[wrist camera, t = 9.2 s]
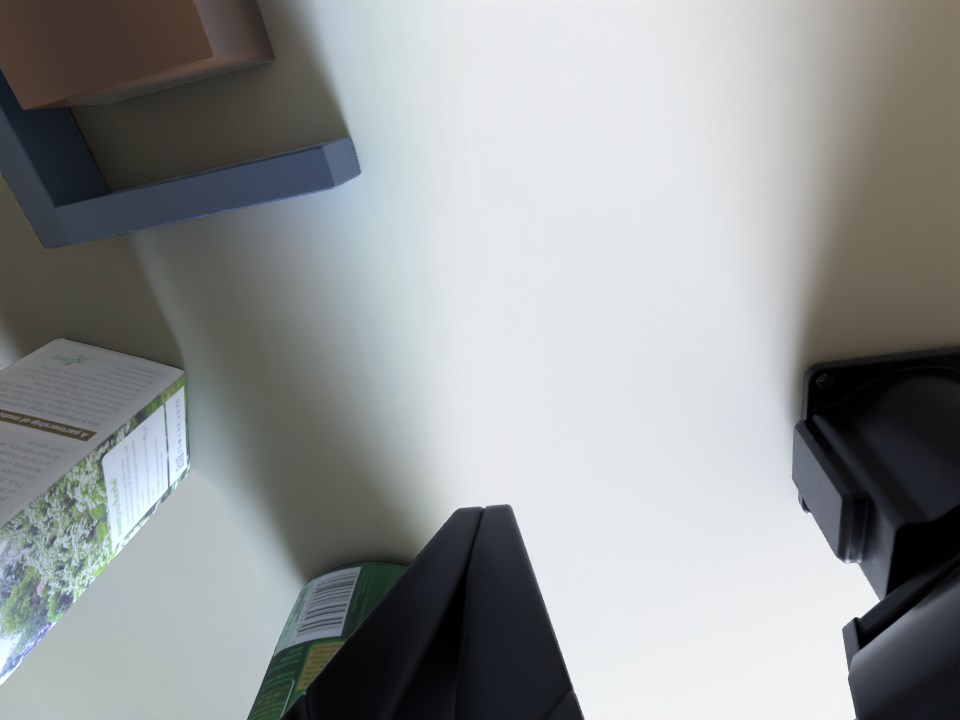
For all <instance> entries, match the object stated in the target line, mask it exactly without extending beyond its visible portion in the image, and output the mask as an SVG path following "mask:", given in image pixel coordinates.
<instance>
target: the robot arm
mask: <svg viewBox="0 0 960 720" xmlns="http://www.w3.org/2000/svg"><path fill="white" fill-rule="evenodd" d="M822 375H828V376H827V378H826V379H825V380H824V381H820V382H816V381H817V379H818V378H819V377H820V376H822ZM792 479H793V481H794V483H795V485H796V487H797V488H798V490H799V496H798V499H799V503H800V505H801V507H802V508H803V510H804V511H805V512H806V513H808V514H811V515H813V517H814V518H815V520H816V522H817V524H818V526H819V527H820V529H821V531H822V533H823V534H824V536H825V538H826V540H827V542H828V543H829V545H830V547H831V549H832V550H833V552H834V554H835V556H836V557H837V558H839V559H840V560H841V561H843V562H844V563H858V565H859V566H860V568H861V570H862V571H863V573H864V575H865V576H866V578H867V580H868V581H869V583H870V585H871V586H872V588H873V590H874V591H875V593H876V595H877V596H878V598H879V600H880V602H879V603H878V604H876V605H875V606H874V607H873V608H872V609H871V610H869V611H868V612H867V613H866V614H865V615H864V616H862V617H861V618H857V617H855V618H854V619H853V620H851V621H850V622H849V623H848V624H847V625H846V626H844V627H843V629H842V632H843V638H844V644H845V651H846V657H847V663H848V670H849V676H848V681H849V685H850V690H851V694H852V699H853V703H854V708H855V714H856V719H855V720H960V346H957V347H949V348H941V349H932V350H924V351H915V352H907V353H898V354H890V355H882V356H873V357H865V358H856V359H848V360H840V361H831V362H823V363H818V364H814V365H813V366H811V367H809V368H808V370H807V371H806V372H805V375H804V387H803V409H802V420H799V421H798V422H797V424H796V425H795V426H794V442H793V468H792ZM305 694H306V695H305ZM305 694H300V695H299V696H298V698H297V699H296V700H295V701H294V702H293V704H292V705H291V706H290V707H289V708H288V709H287V711H286V712H285V713H284V714H283V715H282V717H281V718H280V719H279V720H585V719H584V716H583V714H582V711H581V708H580V705H579V702H578V699H577V696H576V694H575V693H574V689H573V685H572V682H571V679H570V676H569V674H568V671H567V668H566V665H565V662H564V659H563V656H562V653H561V650H560V647H559V644H558V641H557V638H556V635H555V633H554V630H553V627H552V624H551V621H550V618H549V615H548V612H547V609H546V606H545V603H544V600H543V597H542V595H541V592H540V589H539V586H538V583H537V580H536V577H535V574H534V571H533V568H532V565H531V562H530V559H529V556H528V554H527V551H526V548H525V545H524V542H523V539H522V536H521V533H520V530H519V527H518V524H517V521H516V518H515V515H514V513H513V510H512V507H511V506H510V505H508V504H505V505H493V506H487V507H486V508H484V509H483V508H482V507H468V508H460V509H457V510H456V511H455V512H454V513H453V514H452V515H451V517H450V518H449V519H448V520H447V521H446V522H445V524H444V525H443V526H442V527H441V528H440V530H439V531H438V532H437V533H436V534H435V536H434V537H433V538H432V539H431V540H430V541H429V543H428V544H427V545H426V546H425V547H424V549H423V550H422V551H421V552H420V553H419V554H418V556H417V557H416V558H415V559H414V560H413V562H412V563H411V564H410V565H409V566H408V568H407V569H406V570H405V571H404V572H403V573H402V575H401V576H400V577H399V578H398V579H397V581H396V582H395V583H394V584H393V585H392V587H391V588H390V589H389V590H388V591H387V592H386V594H385V595H384V596H383V597H382V598H381V600H380V601H379V602H378V603H377V604H376V605H375V607H374V608H373V609H372V610H371V611H370V613H369V614H368V615H367V616H366V617H365V619H364V620H363V621H362V622H361V623H360V624H359V626H358V627H357V628H356V629H355V630H354V632H353V633H352V634H351V635H350V636H349V637H348V639H347V640H346V641H345V642H344V643H343V645H342V646H341V647H340V648H339V649H338V651H337V652H336V653H335V654H334V655H333V656H332V658H331V659H330V660H329V661H328V662H327V664H326V665H325V666H324V667H323V668H322V669H321V671H320V672H319V673H318V674H317V675H316V677H315V678H314V679H313V680H312V681H311V683H310V684H309V685H308V686H307V687H306V689H305Z"/></svg>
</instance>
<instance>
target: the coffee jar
mask: <svg viewBox="0 0 960 720" xmlns="http://www.w3.org/2000/svg"><path fill="white" fill-rule="evenodd" d="M407 568H408V567H405V566H401V565H397V564H393V563H378V562H360V563H353V564H349V565H345V566H341V567H337V568H334V569H332V570H329V571H327V572H325V573H323V574H321V575H319V576H317V577H315V578H314V579H312V580H311V581H309V582H308V583H307V584H306V585H305V586H304V588H303V589H302V590H301V592H300V594H299V596H298V598H297V600H296V603H295V605H294V607H293V609H292V611H291V613H290V616H289V618H288V620H287V622H286V625H285V627H284V629H283V631H282V634H281V636H280V638H279V641H278V644H277V646H276V648H275V651H274V654H273V656H272V659H271V661H270V664H269V666H268V669H267V671H266V674H265V676H264V679H263V682H262V684H261V687H260V689H259V692H258V694H257V697H256V699H255V702H254V704H253V706H252V709H251V711H250V714H249V716H248V718H247V720H279V719H280V718H281V717H282V715H283V714H284V713H285V712H286V711H287V709H288V708H289V707H290V706H291V705H292V704H293V702H294V701H295V700H296V699H297V698H298V696H299V695H300V694H305V689H306V687H307V686H308V685H309V684H310V683H311V681H312V680H313V679H314V678H315V677H316V675H317V674H318V673H319V672H320V671H321V669H322V668H323V667H324V666H325V665H326V664H327V662H328V661H329V660H330V659H331V658H332V656H333V655H334V654H335V653H336V652H337V651H338V649H339V648H340V647H341V646H342V645H343V643H344V642H345V641H346V640H347V639H348V637H349V636H350V635H351V634H352V633H353V632H354V630H355V629H356V628H357V627H358V626H359V624H360V623H361V622H362V621H363V620H364V619H365V617H366V616H367V615H368V614H369V613H370V611H371V610H372V609H373V608H374V607H375V605H376V604H377V603H378V602H379V601H380V600H381V598H382V597H383V596H384V595H385V594H386V592H387V591H388V590H389V589H390V588H391V587H392V585H393V584H394V583H395V582H396V581H397V579H398V578H399V577H400V576H401V575H402V573H403V572H404V571H405V570H406V569H407ZM305 695H306V694H305Z"/></svg>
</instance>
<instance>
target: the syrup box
mask: <svg viewBox="0 0 960 720" xmlns="http://www.w3.org/2000/svg"><path fill="white" fill-rule="evenodd" d="M189 472H190V452H189V430H188V409H187V380H186V373H185V372H184V371H183V370H181V369H178V368H174V367H170V366H167V365H164V364H161V363H157V362H154V361H150V360H147V359H143V358H139V357H135V356H131V355H127V354H123V353H119V352H115V351H111V350H107V349H103V348H99V347H95V346H91V345H87V344H83V343H79V342H75V341H70V340H66V339H63V338H60V339H57V340H53V341H52V342H50V343H48V344H46V345H45V346H43V347H41V348H39V349H38V350H36V351H34V352H32V353H31V354H29V355H27V356H25V357H24V358H22V359H20V360H19V361H17V362H15V363H14V364H12V365H10V366H9V367H7V368H5V369H3V370H2V371H0V685H1V684H2V683H3V682H4V681H5V680H6V679H7V677H8V676H9V675H10V674H11V673H12V672H13V671H14V670H15V668H16V667H17V666H18V665H19V664H20V663H21V662H22V660H23V659H24V658H25V657H26V656H27V655H28V654H29V653H30V651H31V650H32V649H33V648H34V647H35V646H36V645H37V643H38V642H39V641H40V640H41V639H42V638H43V637H44V636H45V634H46V633H47V632H48V631H49V630H50V629H51V628H52V627H53V625H54V624H55V623H56V622H57V621H58V620H59V619H60V617H61V616H62V615H63V614H64V613H65V612H66V611H67V610H68V608H69V607H70V606H71V605H72V604H73V603H74V602H75V601H76V600H77V599H78V597H79V596H80V595H81V594H82V593H83V592H84V591H85V590H86V588H87V587H88V586H89V585H90V584H91V583H92V582H93V581H94V580H95V578H96V577H97V576H98V575H99V574H100V573H101V572H102V570H103V569H104V568H105V567H106V566H107V565H108V564H109V562H110V561H111V560H112V559H113V558H114V557H115V556H116V555H117V554H118V553H119V551H120V550H121V549H122V548H123V547H124V546H125V545H126V544H127V543H128V541H129V540H130V539H131V538H132V537H133V536H134V534H135V533H136V532H137V531H138V530H139V529H140V528H141V527H142V525H143V524H144V523H145V522H146V521H147V520H148V519H149V517H150V516H151V515H152V514H153V513H154V512H155V511H156V510H157V508H158V507H159V506H160V505H161V504H162V502H163V501H164V500H165V499H166V498H167V497H168V496H169V495H170V494H171V493H172V492H173V490H174V489H175V488H176V487H177V486H178V485H179V484H180V483H181V481H182V480H183V479H184V478H185V477H186V476H187V475H188V473H189Z"/></svg>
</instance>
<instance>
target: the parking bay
mask: <svg viewBox="0 0 960 720" xmlns="http://www.w3.org/2000/svg"><path fill="white" fill-rule="evenodd" d="M0 171H1V173H2V175H3V177H4V178H5V180H6V182H7V184H8V185H9V187H10V189H11V191H12V192H13V194H14V196H15V198H16V199H17V201H18V203H19V205H20V206H21V208H22V210H23V212H24V213H25V215H26V217H27V219H28V220H29V222H30V224H31V226H32V227H33V229H34V231H35V233H36V235H37V236H38V238H39V240H40V242H41V243H42V245H43V247H44V248H45V249H47V250H49V249H54V248H58V247H63V246H68V245H72V244H77V243H82V242H87V241H91V240H96V239H101V238H105V237H110V236H115V235H119V234H124V233H129V232H133V231H138V230H143V229H148V228H152V227H157V226H162V225H166V224H171V223H176V222H180V221H185V220H190V219H195V218H199V217H204V216H209V215H213V214H218V213H223V212H227V211H232V210H237V209H241V208H246V207H251V206H256V205H260V204H265V203H270V202H274V201H279V200H284V199H288V198H293V197H298V196H302V195H307V194H312V193H317V192H321V191H326V190H331V189H334V188H336V187H338V186H340V185H342V184H344V183H346V182H347V181H349V180H351V179H353V178H355V177H357V176H358V175H360V174H361V171H360V167H359V164H358V160H357V157H356V154H355V150H354V147H353V144H352V140H351V138H350V137H343V138H339V139H335V140H330V141H326V142H322V143H318V144H313V145H309V146H305V147H300V148H296V149H292V150H288V151H283V152H279V153H275V154H270V155H266V156H262V157H258V158H253V159H249V160H245V161H240V162H236V163H232V164H227V165H223V166H219V167H215V168H210V169H206V170H202V171H197V172H193V173H189V174H185V175H180V176H176V177H172V178H167V179H163V180H159V181H155V182H150V183H146V184H142V185H137V186H133V187H129V188H124V189H120V190H116V191H112V192H109V190H108V187H107V185H106V183H105V181H104V179H103V177H102V175H101V173H100V171H99V169H98V167H97V165H96V163H95V161H94V159H93V157H92V155H91V153H90V151H89V149H88V147H87V145H86V143H85V141H84V139H83V137H82V135H81V133H80V131H79V129H78V127H77V125H76V123H75V121H74V119H73V117H72V115H71V113H70V111H69V109H68V107H59V108H47V109H34V110H23V109H22V108H21V106H20V104H19V102H18V100H17V98H16V97H15V95H14V93H13V91H12V89H11V87H10V85H9V83H8V81H7V79H6V77H5V75H4V74H3V72H2V70H1V68H0Z"/></svg>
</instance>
